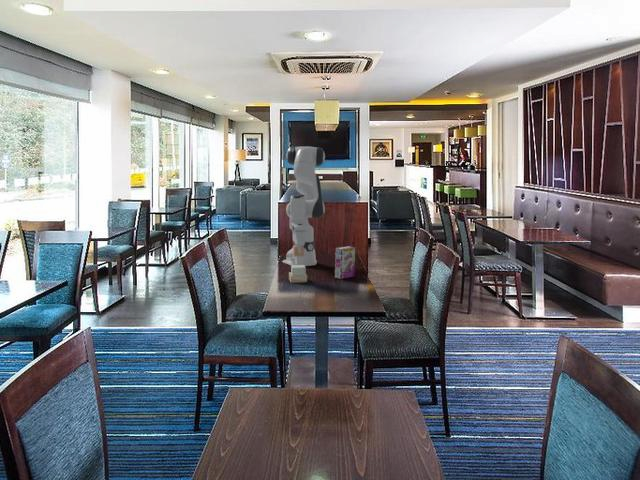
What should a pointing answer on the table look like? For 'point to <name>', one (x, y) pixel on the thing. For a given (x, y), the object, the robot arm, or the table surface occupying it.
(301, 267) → the tower top
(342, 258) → the candy bar box
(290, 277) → the tower base
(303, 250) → the terracotta cube
